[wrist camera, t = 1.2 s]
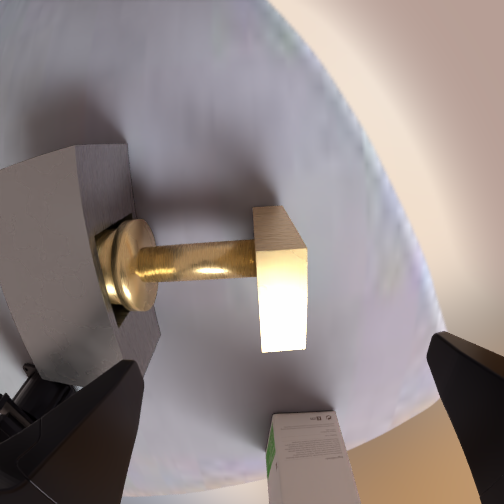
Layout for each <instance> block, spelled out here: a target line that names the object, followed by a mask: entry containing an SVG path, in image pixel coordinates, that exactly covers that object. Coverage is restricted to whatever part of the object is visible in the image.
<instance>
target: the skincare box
mask: <svg viewBox="0 0 504 504" xmlns="http://www.w3.org/2000/svg"><path fill="white" fill-rule="evenodd" d="M266 467H267V480H268V493H269V504H361V502H360V498H359V494H358V490H357V487H356V483H355V479H354V476H353V472H352V468H351V465H350V462H349V458H348V454H347V451H346V447H345V444H344V440H343V437H342V433H341V430H340V426H339V423H338V419H337V416H336V412H335V411H326V412H310V413H289V414H274V415H273V416H272V422H271V427H270V432H269V438H268V444H267V448H266Z"/></svg>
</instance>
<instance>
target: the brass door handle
mask: <svg viewBox="0 0 504 504" xmlns="http://www.w3.org/2000/svg"><path fill="white" fill-rule="evenodd" d="M252 208H253V223H254V238H255V239H250V240H235V241H221V242H207V243H193V244H179V245H166V246H156V244H155V240H154V236H153V234H152V231H151V229H150V227H149V225H148V224H147V222H145V221H144V220H143V219H135V220H126V221H123V222H122V223H121V224H120V225H119V227H118V228H117V229H107V230H103V231H101V232H100V233H98V234H97V235H95V236H94V238H95V243H96V247H97V252H98V256H99V261H100V265H101V269H102V273H103V277H104V281H105V285H106V289H107V292H108V296H109V299H110V303H111V304H122V305H123V306H124V307H125V308H126V309H127V310H129V311H148V310H150V308H151V307H152V306H153V304H154V302H155V299H156V295H157V290H158V282H172V281H192V280H210V279H228V278H244V277H257V283H258V298H259V313H260V328H261V343H262V352H273V351H286V350H297V349H305V346H306V316H307V247H306V245H305V243H304V242H303V240H302V238H301V236H300V235H299V233H298V231H297V230H296V228H295V226H294V224H293V223H292V221H291V219H290V218H289V216H288V214H287V213H286V211H285V209H284V208H283V206H265V207H252Z"/></svg>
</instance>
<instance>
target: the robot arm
mask: <svg viewBox="0 0 504 504" xmlns="http://www.w3.org/2000/svg"><path fill="white" fill-rule="evenodd" d="M427 362H428V365H429V367H430V370H431V373H432V375H433V378H434V381H435V384H436V387H437V389H438V392H439V395H440V398H441V400H442V402H443V405H444V407H445V409H446V411H447V413H448V415H449V418H450V420H451V422H452V425H453V427H454V429H455V432H456V434H457V436H458V439H459V441H460V444H461V446H462V449H463V451H464V454H465V456H466V459H467V462H468V464H469V467H470V470H471V473H472V476H473V478H474V481H475V484H476V487H477V490H478V493H479V496H480V500H481V503H482V504H504V357H503V356H501V355H499V354H496V353H494V352H492V351H489V350H487V349H485V348H483V347H480V346H478V345H476V344H473V343H471V342H468V341H466V340H464V339H462V338H459V337H457V336H455V335H452V334H450V333H448V332H445V331H442V332H438V333H435V334H434V335H433V336H432V338H431V342H430V345H429V349H428V352H427ZM23 369H24V371H25V372H26V374H27V376H28V379H27V380H26V381H25V383H24V384H23V385H22V387H21V388H20V390H19V391H18V392H17V394H16V395H15V396H14V398H13V399H11V398H10V396H9V395H8V394H7V393H5V394H4V395H2V394H0V413H1V415H0V504H120V503H121V498H122V494H123V489H124V484H125V480H126V476H127V471H128V467H129V463H130V459H131V455H132V451H133V447H134V443H135V439H136V435H137V431H138V425H139V419H140V412H141V405H142V398H143V392H144V380H143V377H142V374H141V372H140V369H139V366H138V364H137V362H136V361H135V360H128V359H123V360H121V361H120V362H118V363H117V364H115V365H114V366H113V367H111V368H110V369H108V370H107V371H106V372H104V373H103V374H102V375H100V376H99V377H97V378H96V379H95V380H93V381H92V382H90V383H89V384H88V385H86V386H85V387H83V388H82V389H81V390H79V391H78V392H75V390H74V388H73V386H72V385H70V384H64V383H59V382H54V381H49V380H44V379H42V378H41V376H40V374H39V373H38V371H37V369H36V367H35V365H30V364H24V366H23Z"/></svg>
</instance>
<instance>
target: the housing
mask: <svg viewBox="0 0 504 504" xmlns="http://www.w3.org/2000/svg"><path fill="white" fill-rule="evenodd" d="M135 219H136V212H135V206H134V199H133V191H132V183H131V175H130V166H129V156H128V145H127V144H90V145H73V146H70V147H66V148H63V149H59V150H56V151H53V152H50V153H46V154H43V155H40V156H37V157H34V158H31V159H28V160H25V161H23V162H20V163H17V164H14V165H12V166H9V167H6V168H4V169H1V170H0V284H1V287H2V290H3V293H4V296H5V299H6V302H7V304H8V307H9V310H10V312H11V315H12V317H13V320H14V322H15V324H16V327H17V329H18V331H19V334H20V336H21V338H22V340H23V343H24V345H25V347H26V349H27V351H28V353H29V355H30V357H31V359H32V361H33V363H34V365H35V367H36V369H37V371H38V373H39V374H40V376H41V378H42V379H44V380H49V381H54V382H59V383H64V384H70V385H75V386H82V387H85V386H86V385H88V384H89V383H90V382H92V381H93V380H95V379H96V378H97V377H99V376H100V375H102V374H103V373H104V372H106V371H107V370H108V369H110V368H111V367H113V366H114V365H115V364H117V363H118V362H120V361H121V360H123V359H128V360H135V361H136V362H137V364H138V366H139V369H140V372H141V374H142V377H144V375H145V372H146V370H147V367H148V365H149V362H150V360H151V357H152V355H153V353H154V350H155V348H156V345H157V343H158V341H159V338H160V336H161V333H160V330H159V326H158V322H157V318H156V314H155V310H154V306H152V307H151V308H150V310H148V311H129V310H127V309H126V308H125V307H124V306H123V305H122V304H111V303H110V299H109V296H108V292H107V289H106V285H105V281H104V277H103V273H102V269H101V265H100V261H99V256H98V252H97V247H96V243H95V238H94V236H95V235H97V234H98V233H100V232H101V231H103V230H107V229H117V228H118V227H119V225H120V224H121V223H122V222H123V221H126V220H135Z"/></svg>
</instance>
